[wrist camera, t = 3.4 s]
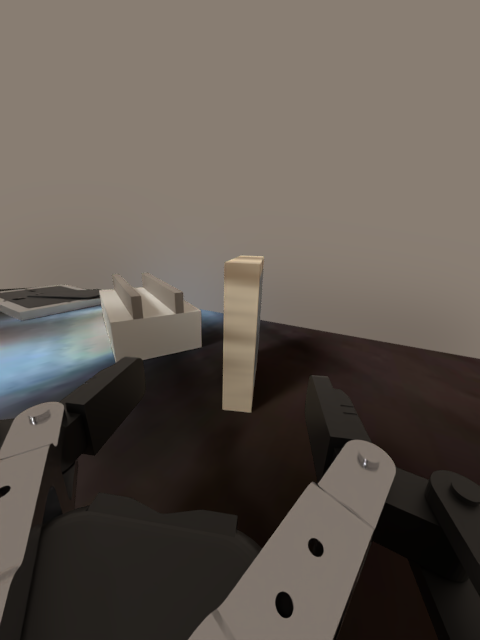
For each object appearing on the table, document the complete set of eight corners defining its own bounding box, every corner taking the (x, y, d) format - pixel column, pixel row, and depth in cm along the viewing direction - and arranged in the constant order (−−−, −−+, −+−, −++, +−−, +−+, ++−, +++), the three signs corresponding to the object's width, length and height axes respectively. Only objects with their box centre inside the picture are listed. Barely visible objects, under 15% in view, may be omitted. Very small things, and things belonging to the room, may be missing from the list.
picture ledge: (201, 347, 31) (200, 290, 28) (116, 365, 25) (106, 298, 23) (163, 311, 45) (160, 272, 43) (103, 319, 40) (96, 274, 37)
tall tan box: (251, 412, 19) (260, 264, 15) (221, 409, 20) (223, 262, 16) (257, 360, 28) (264, 256, 24) (236, 358, 28) (240, 255, 24)
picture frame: (114, 305, 51) (65, 292, 61) (112, 292, 50) (63, 281, 60) (22, 324, 38) (-21, 304, 48) (17, 307, 37) (-26, 290, 47)
